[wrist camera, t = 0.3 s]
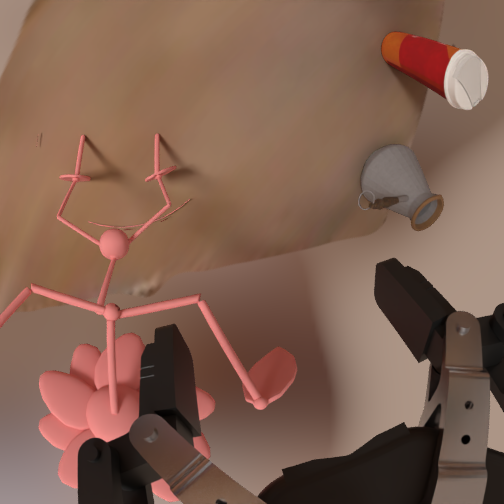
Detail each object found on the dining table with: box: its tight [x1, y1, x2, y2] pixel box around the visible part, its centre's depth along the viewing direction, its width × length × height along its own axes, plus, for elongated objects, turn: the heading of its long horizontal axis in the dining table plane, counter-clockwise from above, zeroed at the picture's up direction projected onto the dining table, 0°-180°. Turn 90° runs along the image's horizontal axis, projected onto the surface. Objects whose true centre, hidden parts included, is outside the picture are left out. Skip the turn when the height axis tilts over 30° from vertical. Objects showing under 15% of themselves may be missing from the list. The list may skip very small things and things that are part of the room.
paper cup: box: [381, 32, 488, 110], centre depth 27 cm, size 8×8×14 cm
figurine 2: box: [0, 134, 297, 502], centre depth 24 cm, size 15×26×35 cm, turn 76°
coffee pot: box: [358, 144, 444, 231], centre depth 40 cm, size 21×12×15 cm, turn 68°
